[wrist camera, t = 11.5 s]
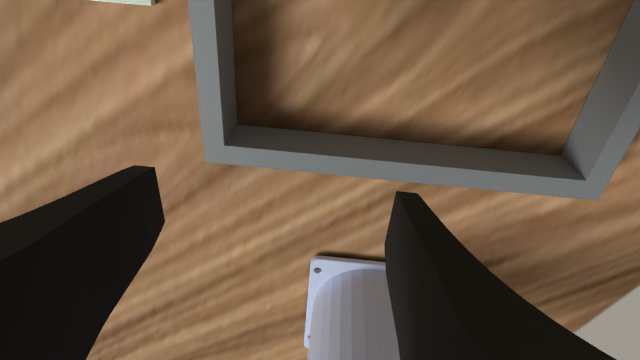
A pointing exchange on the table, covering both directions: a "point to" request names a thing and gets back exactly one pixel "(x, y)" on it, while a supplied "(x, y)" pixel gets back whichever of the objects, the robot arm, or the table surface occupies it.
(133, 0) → the mat
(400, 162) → the gray rectangular frame
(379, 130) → the table surface
